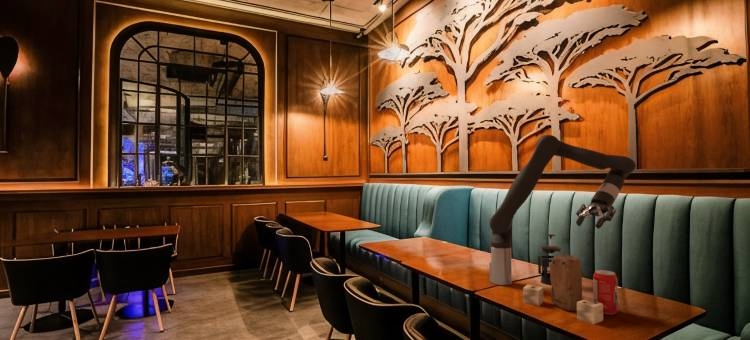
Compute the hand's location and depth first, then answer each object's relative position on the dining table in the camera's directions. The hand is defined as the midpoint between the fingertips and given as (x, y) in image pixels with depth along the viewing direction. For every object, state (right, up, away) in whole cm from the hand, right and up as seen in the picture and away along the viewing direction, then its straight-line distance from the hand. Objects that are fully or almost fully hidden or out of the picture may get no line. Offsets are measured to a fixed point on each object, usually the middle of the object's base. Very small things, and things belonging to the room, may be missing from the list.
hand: (587, 226), depth 149 cm
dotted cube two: (-9, -31, -18) cm, 37 cm away
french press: (-2, -31, +27) cm, 41 cm away
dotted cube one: (-22, -31, +1) cm, 38 cm away
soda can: (+1, -31, -11) cm, 33 cm away
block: (-12, -31, -5) cm, 34 cm away
